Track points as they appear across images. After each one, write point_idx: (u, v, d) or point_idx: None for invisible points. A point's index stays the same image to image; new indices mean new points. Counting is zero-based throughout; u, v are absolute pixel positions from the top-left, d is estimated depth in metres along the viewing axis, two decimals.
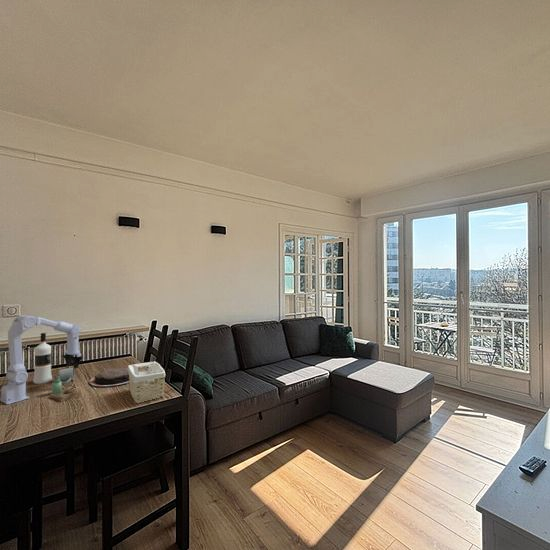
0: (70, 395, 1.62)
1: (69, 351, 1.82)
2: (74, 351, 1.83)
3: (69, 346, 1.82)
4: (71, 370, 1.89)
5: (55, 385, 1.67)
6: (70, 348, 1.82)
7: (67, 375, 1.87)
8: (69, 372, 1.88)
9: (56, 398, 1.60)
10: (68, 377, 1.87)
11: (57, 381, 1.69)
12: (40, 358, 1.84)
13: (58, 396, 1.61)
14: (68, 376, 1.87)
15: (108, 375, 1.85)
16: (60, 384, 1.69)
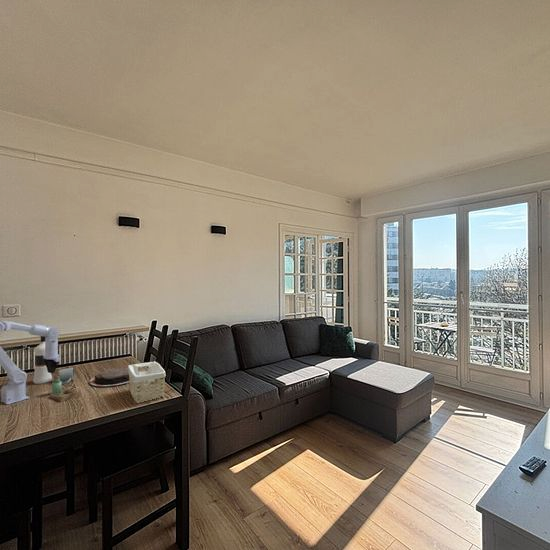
0: (70, 395, 1.62)
1: (47, 356, 1.70)
2: (53, 355, 1.71)
3: (47, 350, 1.70)
4: (71, 370, 1.89)
5: (55, 385, 1.67)
6: (48, 352, 1.70)
7: (67, 375, 1.87)
8: (68, 372, 1.88)
9: (56, 398, 1.60)
10: (68, 377, 1.87)
11: (57, 381, 1.69)
12: (40, 358, 1.84)
13: (58, 396, 1.61)
14: (68, 376, 1.87)
15: (108, 375, 1.85)
16: (60, 384, 1.69)
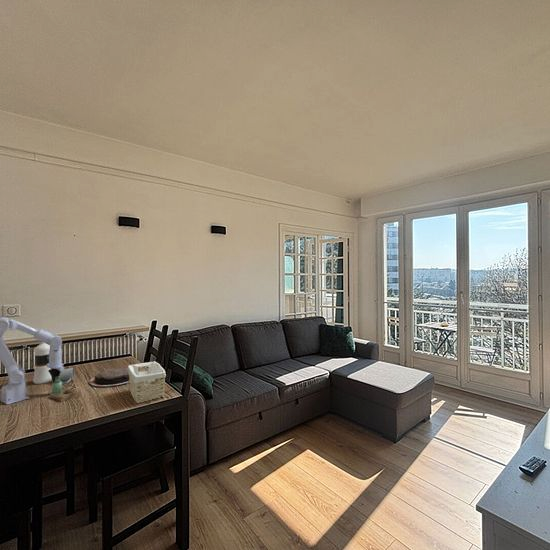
0: (70, 395, 1.62)
1: (51, 365, 1.68)
2: (57, 364, 1.69)
3: (51, 359, 1.68)
4: (71, 370, 1.88)
5: (55, 385, 1.67)
6: (52, 361, 1.68)
7: (67, 375, 1.86)
8: (68, 372, 1.87)
9: (56, 398, 1.60)
10: (68, 377, 1.87)
11: (57, 381, 1.69)
12: (40, 358, 1.84)
13: (58, 396, 1.61)
14: (68, 376, 1.87)
15: (108, 375, 1.85)
16: (60, 384, 1.69)
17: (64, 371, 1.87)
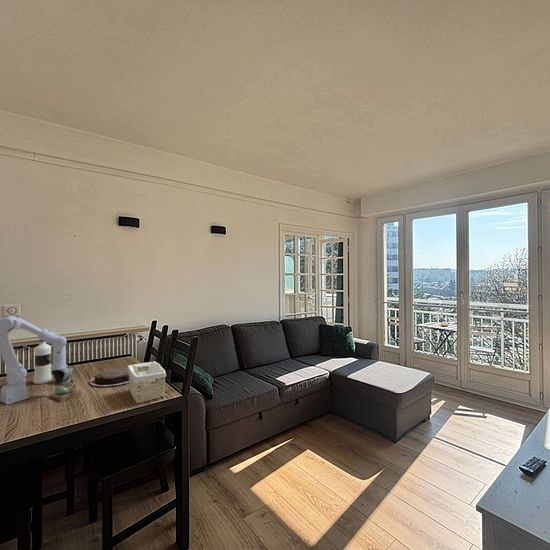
0: (70, 395, 1.62)
1: (55, 366, 1.66)
2: (61, 366, 1.67)
3: (55, 361, 1.66)
4: (71, 371, 1.88)
5: (60, 395, 1.65)
6: (56, 363, 1.66)
7: (67, 376, 1.86)
8: (68, 373, 1.87)
9: (56, 398, 1.60)
10: (68, 378, 1.86)
11: None
12: (40, 358, 1.84)
13: (58, 396, 1.61)
14: (68, 377, 1.86)
15: (108, 375, 1.85)
16: None
17: None
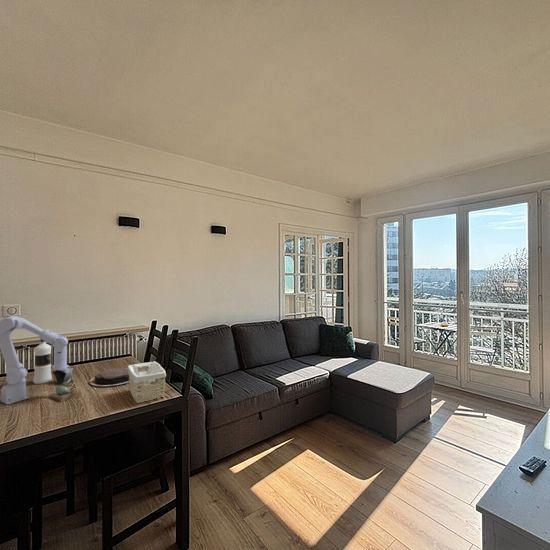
0: (70, 395, 1.62)
1: (56, 366, 1.65)
2: (62, 366, 1.66)
3: (56, 361, 1.65)
4: (71, 371, 1.88)
5: None
6: (57, 363, 1.65)
7: (67, 376, 1.86)
8: (68, 373, 1.87)
9: (56, 398, 1.60)
10: (68, 378, 1.86)
11: None
12: (40, 358, 1.84)
13: (58, 396, 1.61)
14: (68, 377, 1.86)
15: (108, 375, 1.85)
16: None
17: None
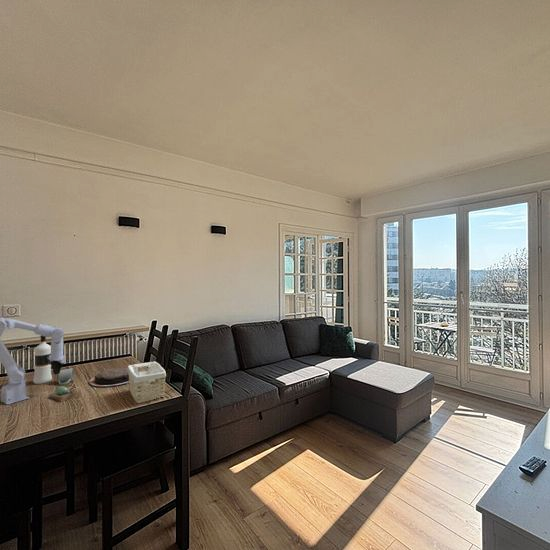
0: (70, 395, 1.62)
1: (53, 357, 1.68)
2: (58, 357, 1.69)
3: (52, 352, 1.68)
4: (70, 371, 1.87)
5: (60, 395, 1.65)
6: (54, 353, 1.68)
7: (66, 376, 1.86)
8: (68, 373, 1.86)
9: (56, 398, 1.60)
10: (67, 378, 1.86)
11: None
12: (40, 358, 1.84)
13: (58, 396, 1.61)
14: (67, 377, 1.86)
15: (108, 375, 1.85)
16: None
17: (64, 371, 1.86)
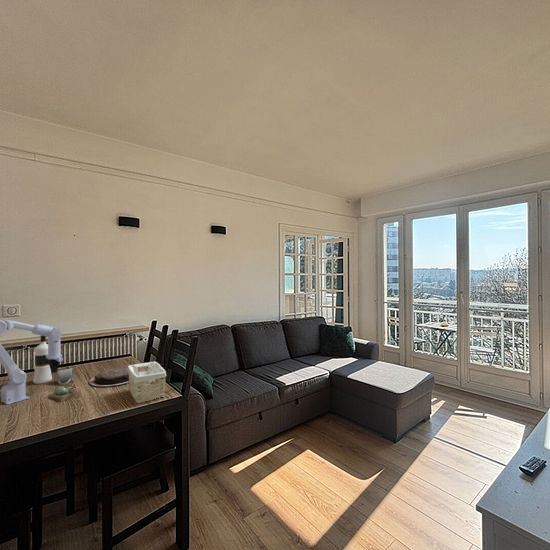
0: (70, 395, 1.62)
1: (50, 355, 1.70)
2: (55, 355, 1.71)
3: (49, 350, 1.70)
4: (70, 371, 1.87)
5: None
6: (51, 352, 1.70)
7: (66, 376, 1.85)
8: (68, 373, 1.86)
9: (56, 398, 1.60)
10: (67, 378, 1.86)
11: None
12: (40, 358, 1.84)
13: (58, 396, 1.61)
14: (67, 377, 1.86)
15: (108, 375, 1.85)
16: None
17: (64, 372, 1.86)
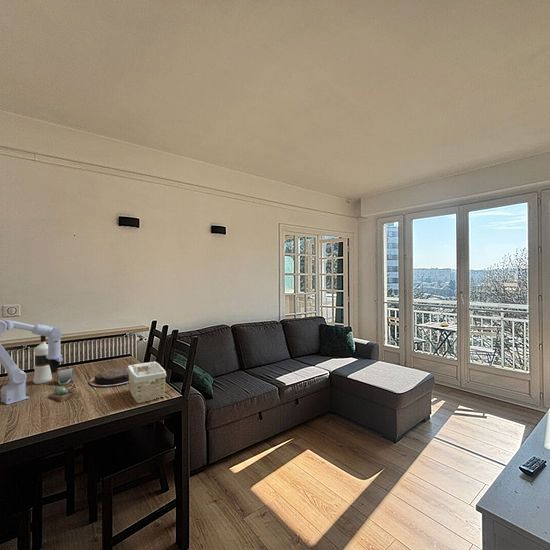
0: (70, 395, 1.62)
1: (50, 355, 1.70)
2: (55, 355, 1.71)
3: (49, 350, 1.70)
4: (70, 371, 1.87)
5: None
6: (51, 352, 1.70)
7: (66, 376, 1.85)
8: (68, 373, 1.86)
9: (56, 398, 1.60)
10: (67, 378, 1.85)
11: None
12: (40, 358, 1.84)
13: (58, 396, 1.61)
14: (67, 377, 1.85)
15: (108, 375, 1.85)
16: None
17: (64, 372, 1.86)
